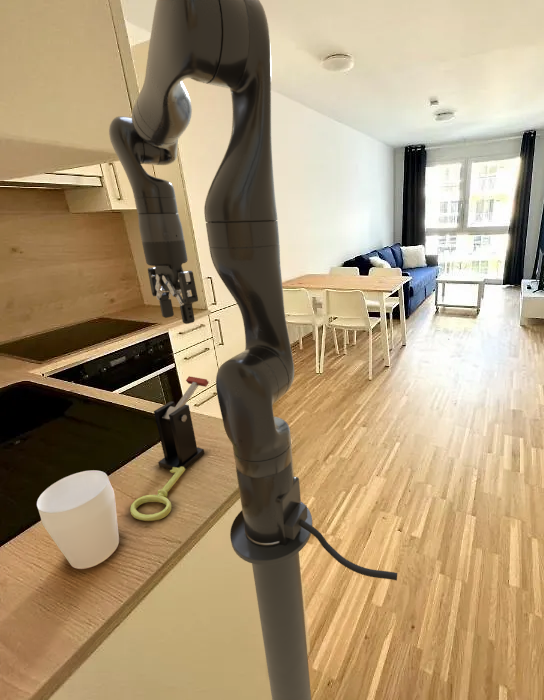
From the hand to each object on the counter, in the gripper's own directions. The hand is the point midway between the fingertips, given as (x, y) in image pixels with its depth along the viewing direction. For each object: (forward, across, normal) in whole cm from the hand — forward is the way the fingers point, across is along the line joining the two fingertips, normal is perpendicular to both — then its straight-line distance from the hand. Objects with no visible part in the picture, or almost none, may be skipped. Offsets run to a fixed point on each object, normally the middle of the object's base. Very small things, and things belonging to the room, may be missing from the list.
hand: (178, 319), depth 75 cm
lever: (+17, -3, +3) cm, 18 cm away
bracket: (+29, -4, +7) cm, 30 cm away
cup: (+29, -15, +27) cm, 43 cm away
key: (+29, -12, +15) cm, 35 cm away
